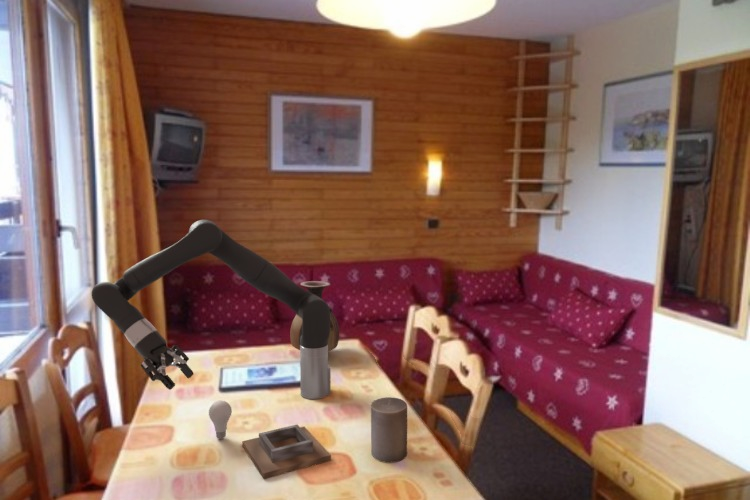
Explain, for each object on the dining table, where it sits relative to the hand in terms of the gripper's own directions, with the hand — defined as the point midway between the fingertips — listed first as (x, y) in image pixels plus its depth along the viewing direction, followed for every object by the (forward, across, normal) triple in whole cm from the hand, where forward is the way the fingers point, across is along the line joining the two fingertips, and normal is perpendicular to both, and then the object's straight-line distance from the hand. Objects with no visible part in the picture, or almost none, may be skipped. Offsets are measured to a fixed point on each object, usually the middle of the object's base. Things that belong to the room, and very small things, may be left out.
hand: (182, 381), depth 153 cm
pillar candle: (+52, +6, -30) cm, 61 cm away
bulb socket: (+34, -2, -12) cm, 36 cm away
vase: (+19, +71, +3) cm, 73 cm away
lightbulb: (+19, 0, +3) cm, 19 cm away
